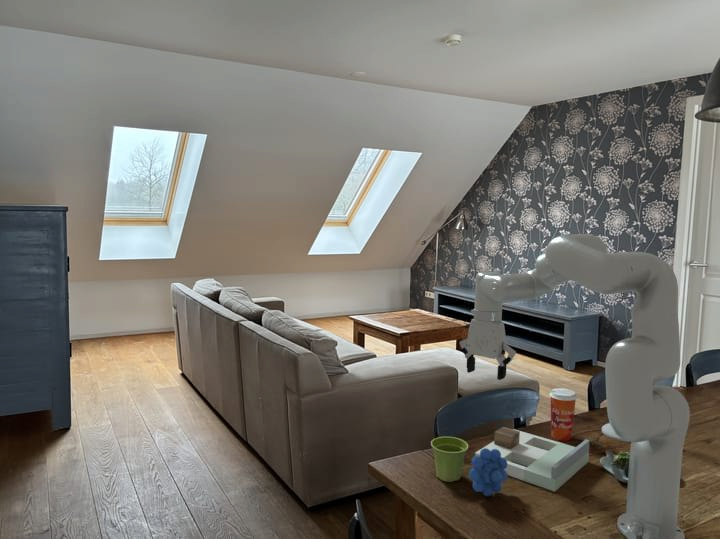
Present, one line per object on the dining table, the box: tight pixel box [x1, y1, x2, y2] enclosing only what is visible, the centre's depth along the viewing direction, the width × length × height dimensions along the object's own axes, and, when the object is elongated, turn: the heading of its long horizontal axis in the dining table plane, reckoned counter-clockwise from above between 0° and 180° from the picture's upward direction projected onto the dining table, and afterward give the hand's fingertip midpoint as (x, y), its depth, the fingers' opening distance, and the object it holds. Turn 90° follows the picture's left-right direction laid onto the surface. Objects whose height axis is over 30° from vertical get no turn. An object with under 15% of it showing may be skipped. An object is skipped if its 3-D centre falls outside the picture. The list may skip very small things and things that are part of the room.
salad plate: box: [599, 449, 630, 486], centre depth 146 cm, size 19×18×5 cm
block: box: [493, 426, 520, 449], centre depth 155 cm, size 5×5×4 cm
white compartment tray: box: [474, 428, 590, 493], centre depth 150 cm, size 22×22×6 cm
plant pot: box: [430, 436, 469, 483], centre depth 142 cm, size 9×9×9 cm
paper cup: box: [549, 387, 578, 442], centre depth 167 cm, size 8×8×14 cm
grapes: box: [468, 447, 509, 497], centre depth 131 cm, size 12×7×12 cm, turn 120°
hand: (485, 375), depth 159 cm, fingers open, 9 cm apart
